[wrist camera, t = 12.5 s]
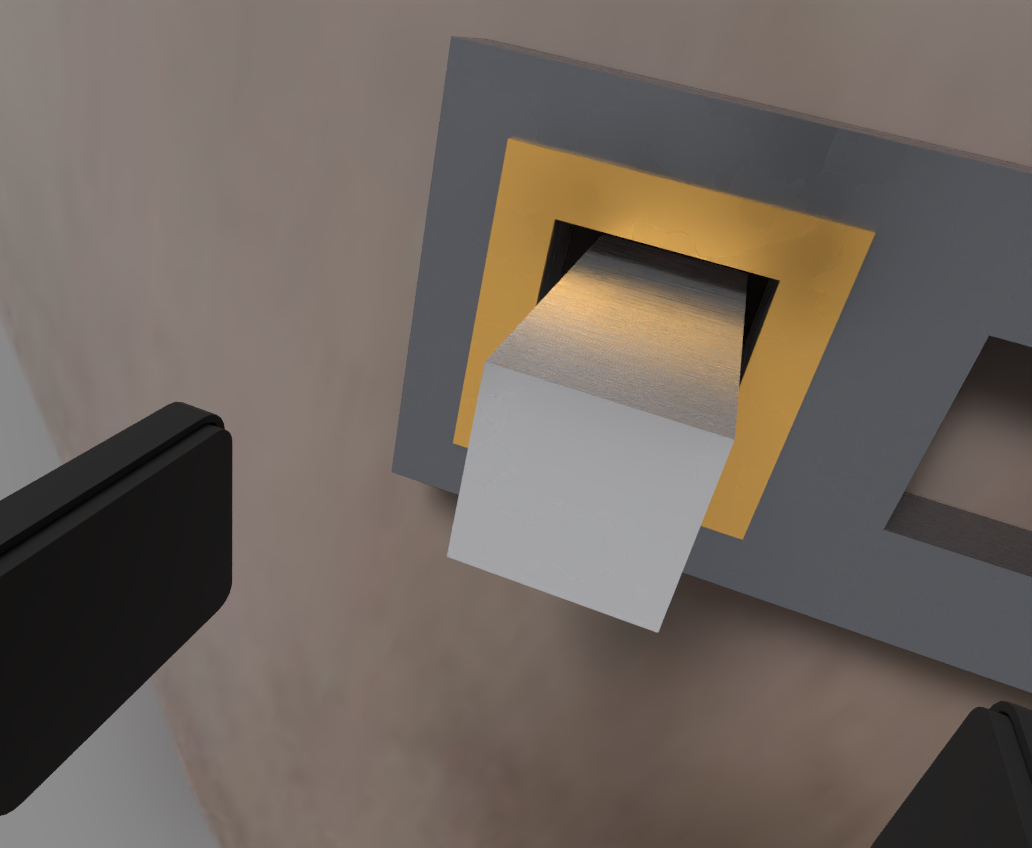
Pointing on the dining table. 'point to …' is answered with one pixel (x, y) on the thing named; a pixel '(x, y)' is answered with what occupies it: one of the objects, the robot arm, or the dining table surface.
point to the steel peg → (605, 430)
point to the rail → (774, 332)
